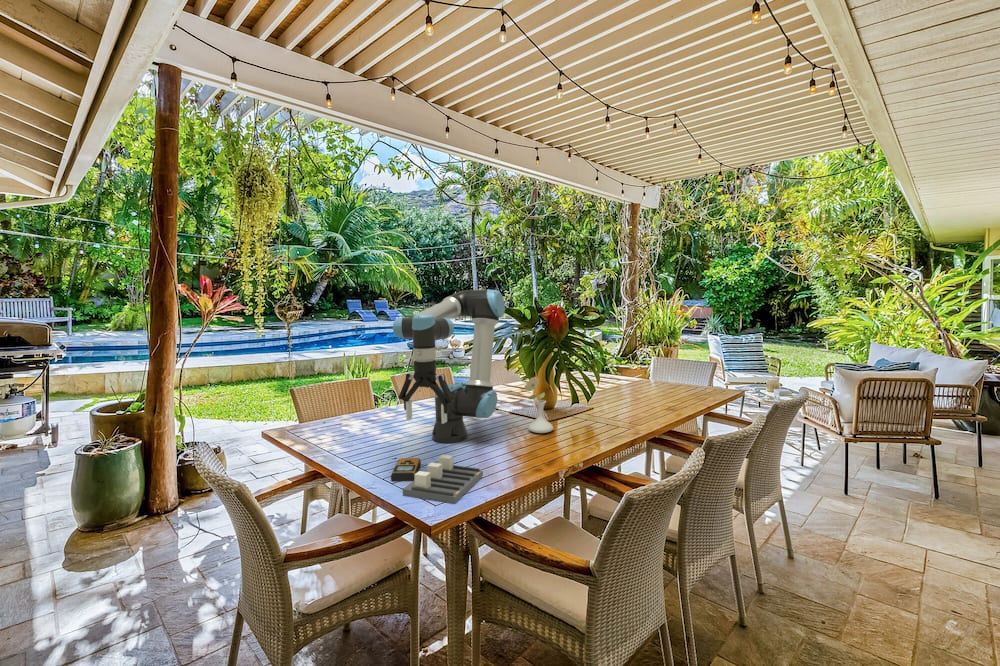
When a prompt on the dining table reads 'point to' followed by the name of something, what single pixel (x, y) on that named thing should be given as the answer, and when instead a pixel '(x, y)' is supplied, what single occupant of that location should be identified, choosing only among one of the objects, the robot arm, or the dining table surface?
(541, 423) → the flower in vase
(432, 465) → the tab
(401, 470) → the electronic device
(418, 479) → the tab
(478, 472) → the switch bank
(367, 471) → the dining table surface
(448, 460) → the tab
